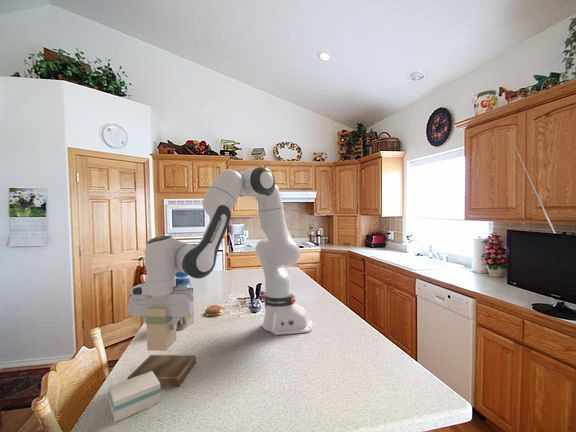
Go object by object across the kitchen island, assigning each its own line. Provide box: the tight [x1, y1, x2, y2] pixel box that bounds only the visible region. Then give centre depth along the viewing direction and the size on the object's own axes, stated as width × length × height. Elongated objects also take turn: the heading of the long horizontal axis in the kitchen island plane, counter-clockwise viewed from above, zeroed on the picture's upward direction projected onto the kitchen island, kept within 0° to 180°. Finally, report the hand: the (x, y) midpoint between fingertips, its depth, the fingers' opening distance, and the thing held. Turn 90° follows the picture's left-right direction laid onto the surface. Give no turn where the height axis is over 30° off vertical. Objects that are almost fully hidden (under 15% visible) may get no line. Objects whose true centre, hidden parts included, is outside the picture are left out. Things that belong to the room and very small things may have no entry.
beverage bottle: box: [175, 272, 192, 288], centre depth 152 cm, size 8×8×20 cm
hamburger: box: [204, 304, 226, 317], centre depth 143 cm, size 14×14×6 cm
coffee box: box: [176, 287, 195, 330], centre depth 128 cm, size 9×6×16 cm
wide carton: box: [108, 371, 162, 422], centre depth 77 cm, size 11×8×6 cm
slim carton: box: [145, 307, 177, 352], centre depth 90 cm, size 6×7×13 cm
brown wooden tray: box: [126, 354, 197, 387], centre depth 91 cm, size 16×13×2 cm
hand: (162, 329), depth 91 cm, fingers closed on slim carton, 6 cm apart
